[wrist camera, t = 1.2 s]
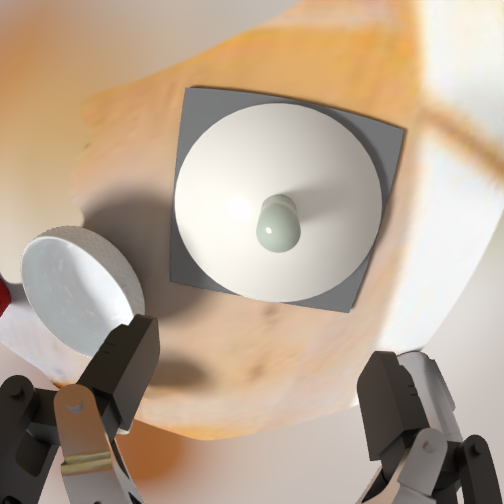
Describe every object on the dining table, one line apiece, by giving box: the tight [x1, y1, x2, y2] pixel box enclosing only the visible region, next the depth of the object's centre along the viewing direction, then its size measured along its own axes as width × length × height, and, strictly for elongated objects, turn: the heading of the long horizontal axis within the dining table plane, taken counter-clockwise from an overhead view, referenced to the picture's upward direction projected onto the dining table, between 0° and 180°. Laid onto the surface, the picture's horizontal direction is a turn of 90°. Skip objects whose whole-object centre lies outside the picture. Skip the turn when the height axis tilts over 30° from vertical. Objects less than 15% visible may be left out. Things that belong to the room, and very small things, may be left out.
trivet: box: [170, 88, 404, 313], centre depth 26 cm, size 20×20×1 cm
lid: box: [175, 103, 382, 302], centre depth 23 cm, size 19×19×6 cm
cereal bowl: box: [21, 226, 145, 359], centre depth 28 cm, size 17×17×7 cm
